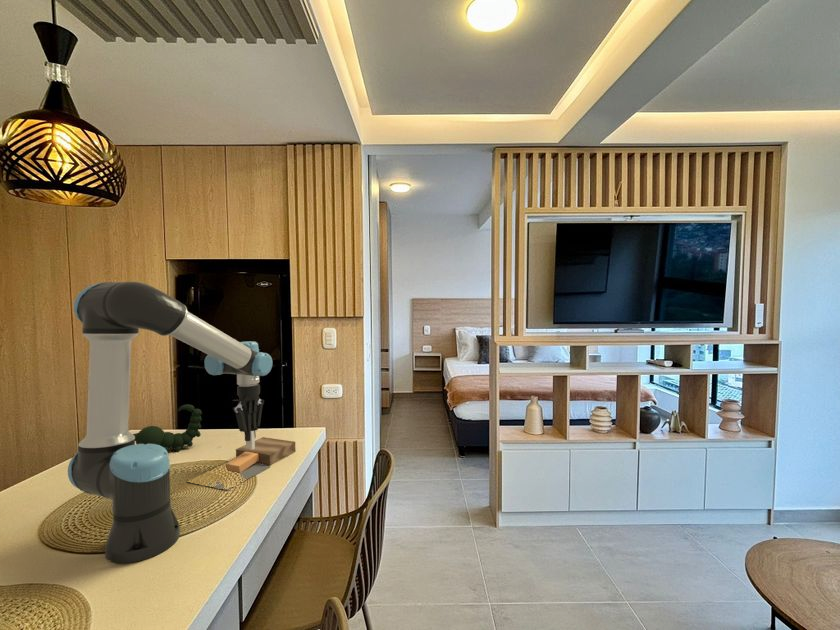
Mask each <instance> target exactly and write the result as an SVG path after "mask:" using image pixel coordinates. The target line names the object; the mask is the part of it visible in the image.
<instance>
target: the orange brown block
mask: <svg viewBox="0 0 840 630" xmlns="http://www.w3.org/2000/svg"><path fill="white" fill-rule="evenodd" d="M230 460H231V461H230ZM230 460H229V461H230V462H228V461H227V462H228V463H227V464H226V468H227V470H228V471H232V472H237V473H241V472H242V471H244V470H245V469H247V468H248V467H250V466H251V465H253V464H257V463H256V462H257V461H259V455H258V454H257V453H251V452H244V453H242V454H241V455H239V456H238V457H236V456H235V457H234V458H233V459H230Z"/></svg>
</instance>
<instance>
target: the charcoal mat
mask: <svg viewBox="0 0 840 630" xmlns="http://www.w3.org/2000/svg"><path fill="white" fill-rule="evenodd" d="M231 460H232V459H230V460H228V461H226V462H224V463H222V464H220V465H219V466H221V465H223V464H225V463H226V464H227V463H228V462H230V461H231ZM270 468H271V466H269V465H263V464H257V463H254V464H253V465H251V466H250V467H248V468H247V469H245V470H244V471H242V473H240V474H241V477H242V475H243V477H244V478H245V479H246V481H248V480H249V479H248V478H250V479H252V478H253V477H252V476H254V477H255V476H257V475H259V474H262V472H264V471H267V470H268V469H270ZM246 477H247V478H246ZM251 477H252V478H251ZM216 478H217V477H216ZM242 479H243V478H242ZM247 479H248V480H247ZM220 480H221V479H220ZM215 481H216V480H215ZM217 481H218V480H217ZM242 481H243V480H242ZM219 483H220V482H216V484H219ZM211 484H212V483H211ZM211 484H210V483H209V485H211ZM213 487H214V486H213ZM221 487H222V488H221ZM215 488H219V489H218V490H220V489H223V483H222V484H221V485H220V484H219V485H218V486H217V485H216V486H215ZM215 488H214V489H215ZM229 489H230V488H229ZM229 489H225V488H224V489H223V490H222V491H224V490H228V491H230V490H231V489H230V490H229Z"/></svg>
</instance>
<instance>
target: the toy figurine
mask: <svg viewBox="0 0 840 630" xmlns="http://www.w3.org/2000/svg"><path fill="white" fill-rule="evenodd" d="M183 410H186V411H188V412H191V416H190V418H189V421H190V422H189V423H188V427H187V428H186V429H185V431H184V432H181V433H180V432H178V433H173V432H171V431H164V430H163V429H162V428H161V427H160V426H157V425H149V426H146V427H143V428H142V429H141V430H139V431H138V432H137V433H132V434H133V435H134V436H135V444H156V445H160V446H162V447H164V448H165V449H166V450H167V452H169V451H170V450H171V449H173V450H175V451H176V452H181V450H182V448H183V447H184V446H186V445H187V447H189V448H190V447H192V446H193V439H194V438H196V437H197V438H200V437H201V432H200V431H199V429H201V428H202V424H201V421H202V420H203V419H202V414H203V412H202V410H201V409H200V408H195V406H194V405H192V404H187V403H186V404H183V405H181V406H179V408H178V409H177V412H180V411H183Z"/></svg>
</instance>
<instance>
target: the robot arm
mask: <svg viewBox="0 0 840 630" xmlns="http://www.w3.org/2000/svg"><path fill="white" fill-rule="evenodd" d="M73 312H74V315H75V317H76V319H78V320H79V321H80V323H82V332H81V333H82V336H83V337H85V338H86V339H87V340H88V341H89V355H88V356H89V358H88V384H87V385H88V387H87V388H88V390H87V392H88V393H87V413H86V414H87V416H86V417H87V419H86V435H85V436H84V437H83V439H81V440H80V441H79V442H78V446H77V447H78V448H77V449H78V450H77V451H76V452H75V455H74V456H73V457H71V459H70V461H69V463H68V467H67V477H68V479H69V482H70V483H71V484H72V486H73V487H74V488H76V489H78V490H80V491H81V492H84V493H85V494H89V495H90V494H91V495H96V496H98V497H99V496H100V497H102V498H106V499H110V500H111V501H112V503H111V505H112V522H111V523H112V524H111V526H110V530H109V532H108V535H107V539H106V543H105V546H104V553H105V555H104V556H105V559H106V560H107V561H108V562H109V563H110V562H111V563H113V564H131V563H135V562H136V563H137V562H140V561H143V560H147V559H149V558H151V557H155V556H157V555H159V554H161V553H162V552H165V551H166V550H168V549H169V548H171V547H172V546H174V545H175V543H176V542H177V541H178V540H179V539H180V536H181V529H180V527H181V526H180V523H179V521H178V519H177V516H176V515H175V513H174V510H173V508H172V506H171V483H170V477H171V476H170V467H171V464H170V459H169V453H168V452H169V451H168V452H167V450H166V449H165V448H164V447H162V446H160V445H156V444H136V441H135V436H134V435H133V434H134V433H132V432H130V431H129V425H130V424H129V419H130V415H129V414H130V392H131V391H130V389H131V388H130V387H131V386H130V385H131V360H132V359H131V358H132V357H131V356H132V341H133V340H134V339H135V338H136V337H137V336H138V335H139V331H140V330H139V329H143V330H147V331H150V332H153V333H156V334H158V335H160V336H162V337H165V336H166V337H167V336H171V337H173V338H175V339H177V341H181V342H182V343H185V344H187V345H189V346H191V347H192V348H194V349H197V351H201V352H202V353H204V354H206V356H205V358H204V369H205V370H206V372H207V373H208V374H209V375H212V376H221V375H223V374H227V375H229V374H231V375H236V385H237V386H236V388H237V396H238V398H239V399H238V404H237V406H234V407H232V411H233V412H234V413H235V417H236V422H237V427H238V430H239V431H240V432H241V433H244V441H245V445H246V449H249V450H253V449H255V440H256V431H258V430H259V427H260V426H261V422H262V421H261V419H262V412H263V406H264V404H265V400H264V399H261V398H260V396H259V395H260V393H261V385H260V384H259V383H260V377H264V376H267V375H268V374H269V373H270V372H271V370H272V368H273V358H272V356H271V355H270V354H269V353H267V352H261V351H260V350H259V343H258V342H257V341H250V340H249V341H238V340H237V339H236V338H233V337H231V336H230V335H228V334H226V333H224V331H221V330H220V329H218V328H216V327H215V326H213V325H211V324H209V323H208V322H207V321H205V320H203V319H201V318H199V316H196V315H194V313H191V312H190V311H188V308H187V306H186V305H185V304H184V303H182V302H181V301H180V300H177V299H176V298H174V297H173V296H171V295H169V294H167V293H166V292H164V291H162V290H159V289H157V288H155V287H154V286H151V285H149V284H146V283H143V282H139V281H117V282H114V281H109V282H108V281H107V282H106V281H105V282H104V281H103V282H99V283H95V284H91V285H89V286H87V287H85V288H84V289H82V290H81V291H80V292H79V293H78V294H77V295H76V298H75V300H74V302H73Z"/></svg>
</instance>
